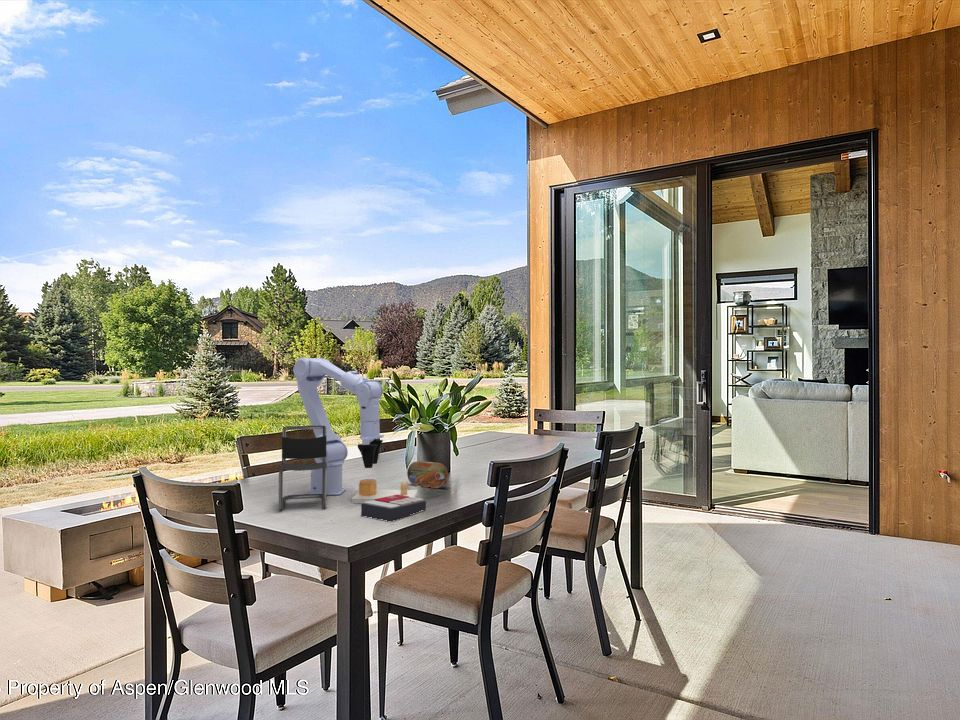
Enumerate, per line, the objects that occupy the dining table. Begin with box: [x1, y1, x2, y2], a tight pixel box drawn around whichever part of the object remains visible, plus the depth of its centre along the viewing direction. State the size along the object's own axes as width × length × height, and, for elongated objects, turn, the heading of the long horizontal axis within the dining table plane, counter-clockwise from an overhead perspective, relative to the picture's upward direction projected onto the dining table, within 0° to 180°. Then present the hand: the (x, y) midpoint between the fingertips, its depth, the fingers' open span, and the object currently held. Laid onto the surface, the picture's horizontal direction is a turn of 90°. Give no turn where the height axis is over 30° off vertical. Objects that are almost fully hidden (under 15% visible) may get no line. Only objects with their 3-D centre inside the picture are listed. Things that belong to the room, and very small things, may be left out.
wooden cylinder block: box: [358, 478, 378, 496], centre depth 183 cm, size 5×5×4 cm
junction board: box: [351, 481, 419, 504], centre depth 183 cm, size 18×12×5 cm, turn 89°
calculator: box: [360, 495, 427, 522], centre depth 167 cm, size 11×4×15 cm
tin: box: [406, 460, 449, 489], centre depth 201 cm, size 15×3×8 cm, turn 62°
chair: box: [278, 425, 327, 511], centre depth 177 cm, size 13×17×22 cm
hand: (371, 465), depth 183 cm, fingers open, 7 cm apart
